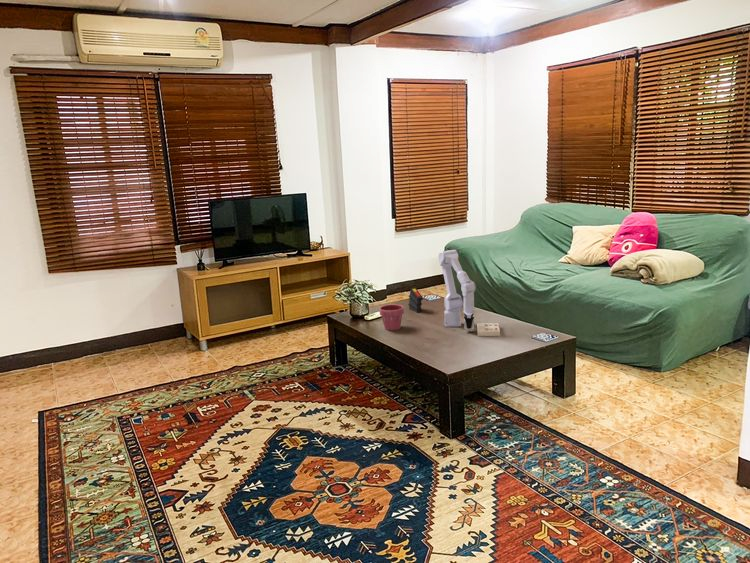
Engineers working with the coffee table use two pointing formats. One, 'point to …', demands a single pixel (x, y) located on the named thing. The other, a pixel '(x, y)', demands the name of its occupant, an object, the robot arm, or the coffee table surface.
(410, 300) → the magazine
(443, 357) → the coffee table surface
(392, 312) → the plant pot
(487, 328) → the socket board
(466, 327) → the plug
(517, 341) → the coffee table surface
